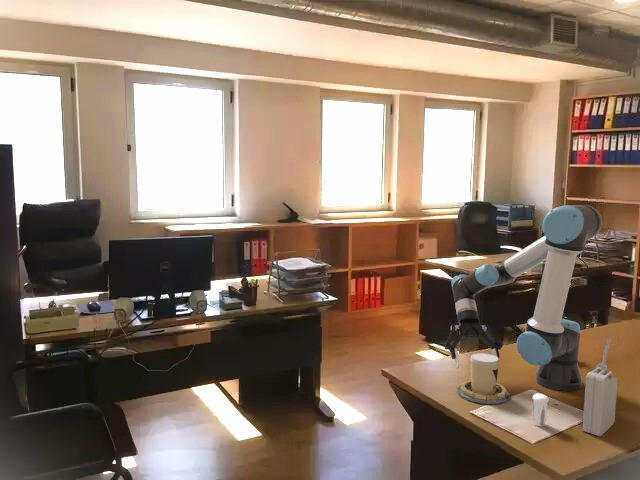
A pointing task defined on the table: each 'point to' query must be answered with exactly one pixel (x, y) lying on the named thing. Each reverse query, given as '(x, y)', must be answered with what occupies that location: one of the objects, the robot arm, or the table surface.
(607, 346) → the fuel canister
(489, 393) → the coffee cup
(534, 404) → the milkshake
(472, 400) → the carrier plate
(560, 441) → the table surface
